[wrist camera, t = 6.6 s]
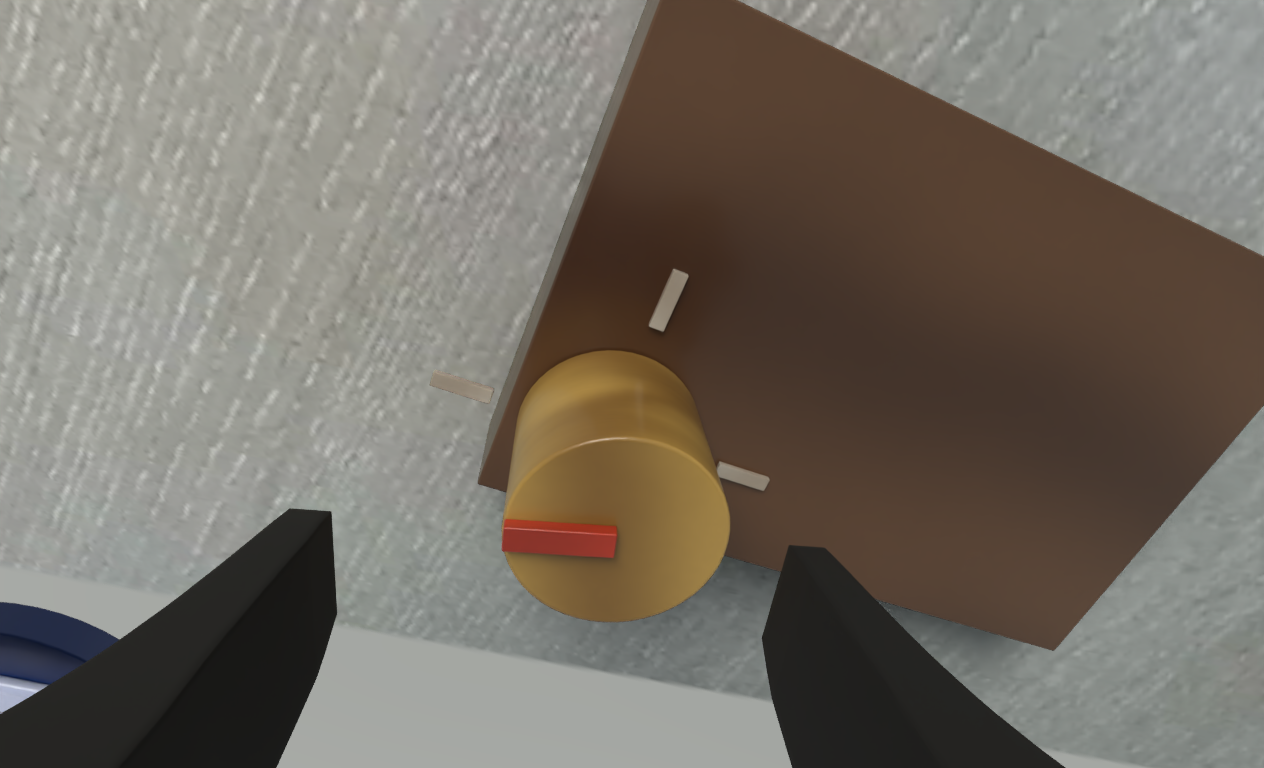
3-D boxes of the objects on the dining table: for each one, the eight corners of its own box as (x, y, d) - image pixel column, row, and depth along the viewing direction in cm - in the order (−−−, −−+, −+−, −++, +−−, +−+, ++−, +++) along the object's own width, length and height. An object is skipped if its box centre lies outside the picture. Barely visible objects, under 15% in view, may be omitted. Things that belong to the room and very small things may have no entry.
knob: (714, 358, 17) (756, 456, 13) (683, 513, 19) (711, 640, 15) (522, 340, 16) (506, 436, 12) (510, 502, 18) (493, 630, 14)
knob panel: (972, 622, 25) (1022, 696, 23) (409, 457, 21) (383, 525, 18) (1250, 263, 20) (1361, 302, 17) (578, -59, 16) (580, -79, 13)
